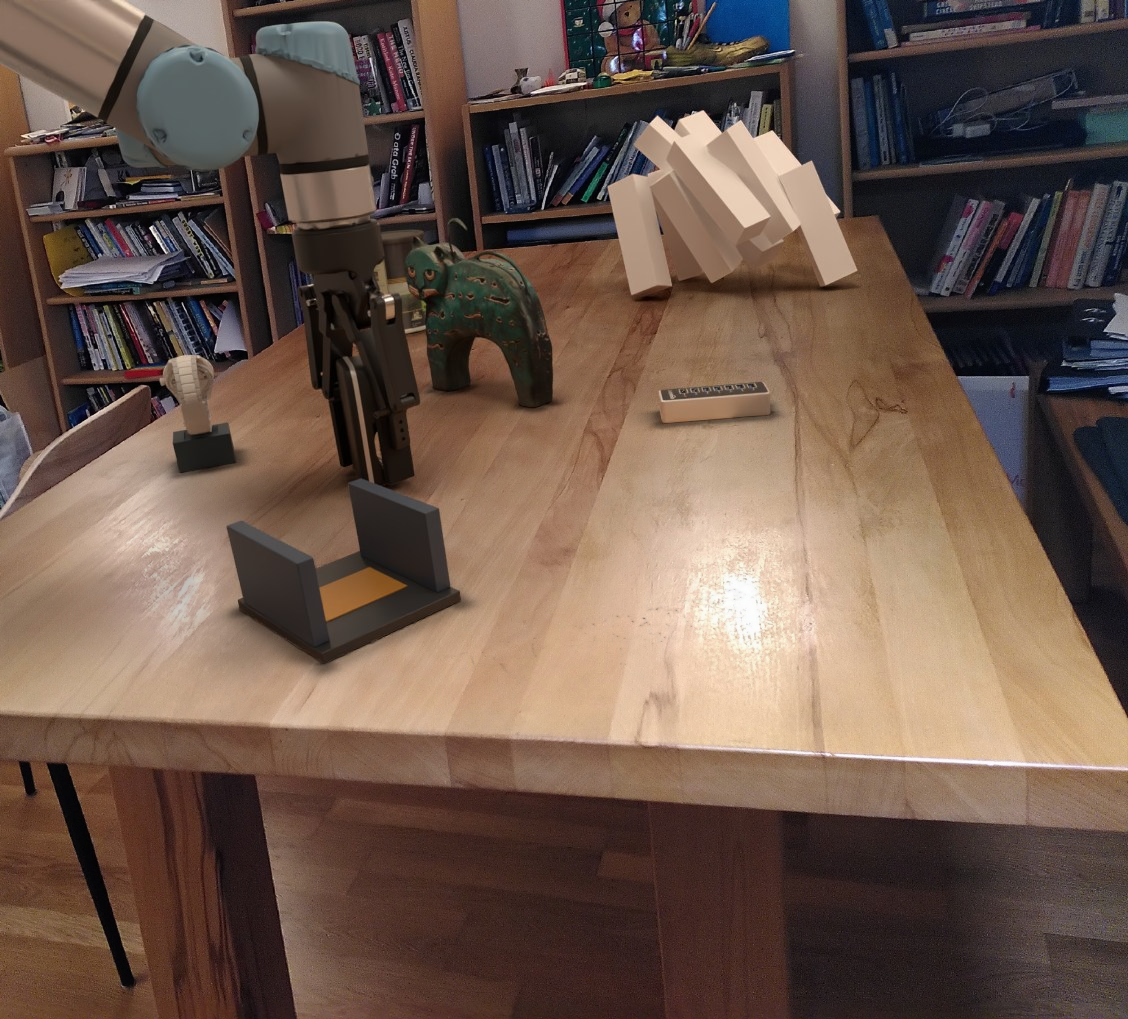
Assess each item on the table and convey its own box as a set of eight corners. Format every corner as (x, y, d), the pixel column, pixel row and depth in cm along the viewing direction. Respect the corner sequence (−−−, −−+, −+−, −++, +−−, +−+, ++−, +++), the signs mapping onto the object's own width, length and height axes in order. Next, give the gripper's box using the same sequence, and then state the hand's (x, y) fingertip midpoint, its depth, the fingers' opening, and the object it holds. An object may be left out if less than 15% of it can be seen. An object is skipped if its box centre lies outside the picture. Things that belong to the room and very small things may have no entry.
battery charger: (405, 484, 96) (386, 363, 91) (363, 492, 95) (343, 370, 90) (391, 462, 102) (373, 347, 97) (352, 469, 101) (332, 354, 96)
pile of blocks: (843, 296, 178) (767, 108, 179) (887, 252, 149) (795, 26, 150) (653, 372, 180) (578, 185, 181) (659, 344, 150) (569, 121, 151)
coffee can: (443, 318, 165) (431, 227, 159) (425, 333, 155) (412, 237, 150) (381, 322, 167) (367, 231, 161) (360, 337, 157) (344, 242, 152)
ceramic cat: (416, 389, 126) (391, 219, 119) (457, 376, 130) (436, 211, 123) (529, 413, 113) (509, 223, 105) (570, 397, 117) (554, 214, 110)
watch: (233, 445, 112) (211, 344, 108) (236, 467, 105) (212, 360, 101) (179, 455, 110) (154, 353, 106) (178, 478, 103) (151, 370, 99)
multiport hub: (771, 414, 105) (770, 392, 104) (662, 423, 106) (661, 401, 105) (764, 402, 109) (763, 380, 108) (659, 410, 110) (658, 389, 109)
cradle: (238, 609, 75) (218, 522, 72) (369, 556, 81) (354, 475, 79) (323, 664, 66) (304, 568, 64) (461, 600, 73) (448, 511, 70)
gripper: (439, 218, 84) (473, 481, 93) (314, 211, 99) (354, 440, 107) (360, 232, 80) (403, 507, 89) (241, 224, 94) (289, 461, 103)
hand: (376, 470), depth 98 cm, fingers closed on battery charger, 7 cm apart
